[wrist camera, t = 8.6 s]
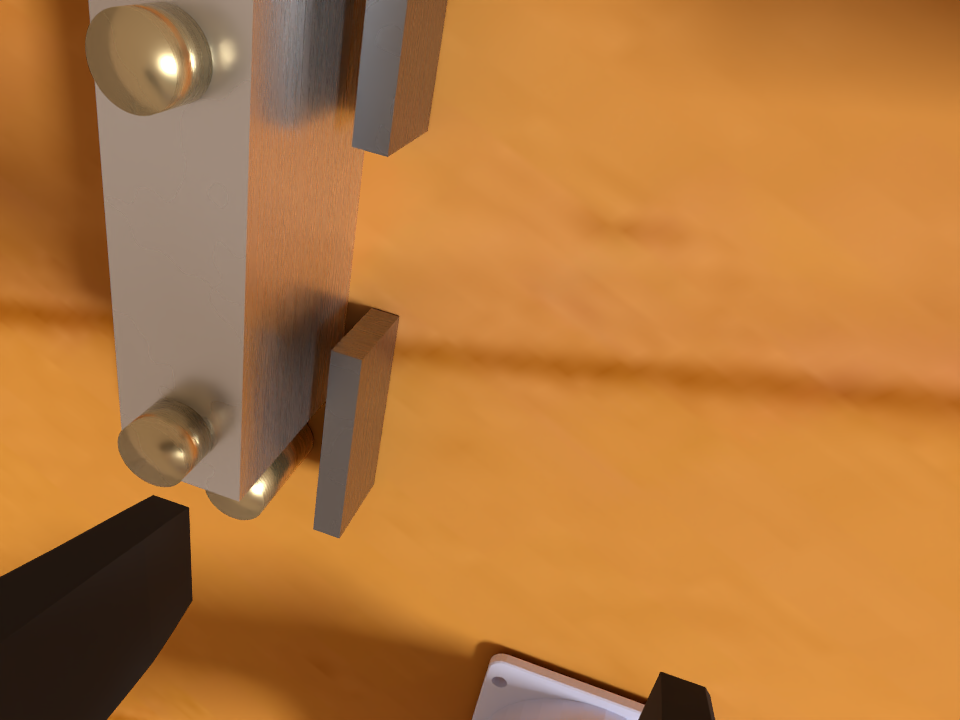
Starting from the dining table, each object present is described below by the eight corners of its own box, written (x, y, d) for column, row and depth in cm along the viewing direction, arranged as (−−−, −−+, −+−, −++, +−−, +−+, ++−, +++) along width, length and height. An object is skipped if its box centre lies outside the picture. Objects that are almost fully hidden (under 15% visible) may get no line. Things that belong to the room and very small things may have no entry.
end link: (373, 486, 23) (331, 553, 21) (199, 426, 24) (138, 483, 22) (399, 316, 20) (353, 370, 18) (197, 254, 21) (126, 297, 18)
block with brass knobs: (340, 383, 22) (214, 530, 17) (247, 352, 22) (94, 486, 17) (386, -34, 16) (217, -21, 11) (260, -65, 17) (34, -68, 11)
